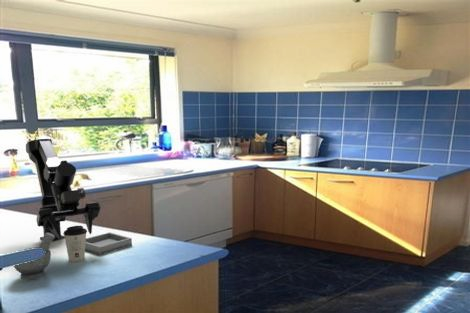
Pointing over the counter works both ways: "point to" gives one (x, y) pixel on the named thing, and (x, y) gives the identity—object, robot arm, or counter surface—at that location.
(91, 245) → the tray
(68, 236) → the coffee cup
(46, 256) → the mortar and pestle
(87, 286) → the counter surface
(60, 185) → the robot arm
